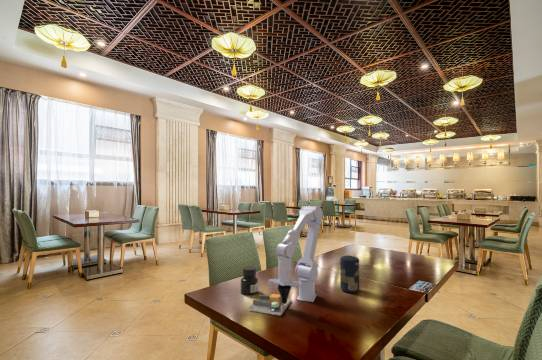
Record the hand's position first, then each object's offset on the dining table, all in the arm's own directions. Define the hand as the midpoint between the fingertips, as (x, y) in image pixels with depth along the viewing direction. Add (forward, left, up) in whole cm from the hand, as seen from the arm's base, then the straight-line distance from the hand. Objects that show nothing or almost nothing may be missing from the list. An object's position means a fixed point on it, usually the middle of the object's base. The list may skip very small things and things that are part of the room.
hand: (284, 302), depth 117 cm
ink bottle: (-12, -22, -2) cm, 25 cm away
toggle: (0, -4, -1) cm, 4 cm away
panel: (0, -6, -2) cm, 7 cm away
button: (+6, -2, 0) cm, 6 cm away
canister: (-32, +26, -2) cm, 41 cm away
